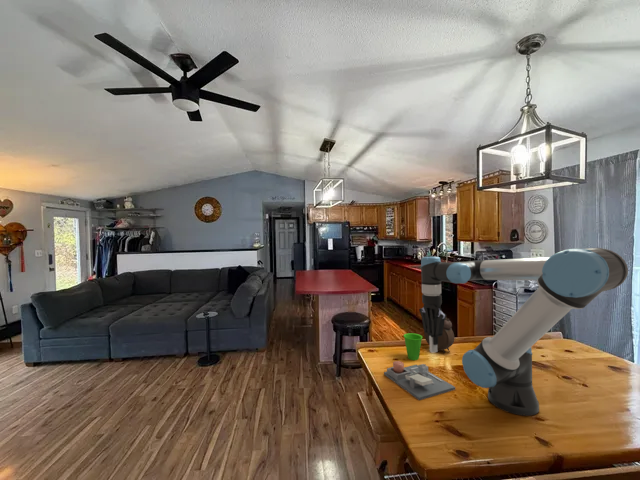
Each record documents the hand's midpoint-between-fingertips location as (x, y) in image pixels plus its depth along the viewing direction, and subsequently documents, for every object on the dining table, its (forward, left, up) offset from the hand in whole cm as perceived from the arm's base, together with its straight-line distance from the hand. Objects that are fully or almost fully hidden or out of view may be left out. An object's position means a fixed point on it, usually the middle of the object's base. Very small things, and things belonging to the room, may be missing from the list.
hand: (433, 351), depth 117 cm
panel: (+4, +5, -13) cm, 15 cm away
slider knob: (+6, 0, -12) cm, 13 cm away
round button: (+10, +10, -10) cm, 18 cm away
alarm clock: (+25, -28, -13) cm, 40 cm away
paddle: (0, +8, -10) cm, 12 cm away
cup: (+23, -9, -13) cm, 28 cm away
